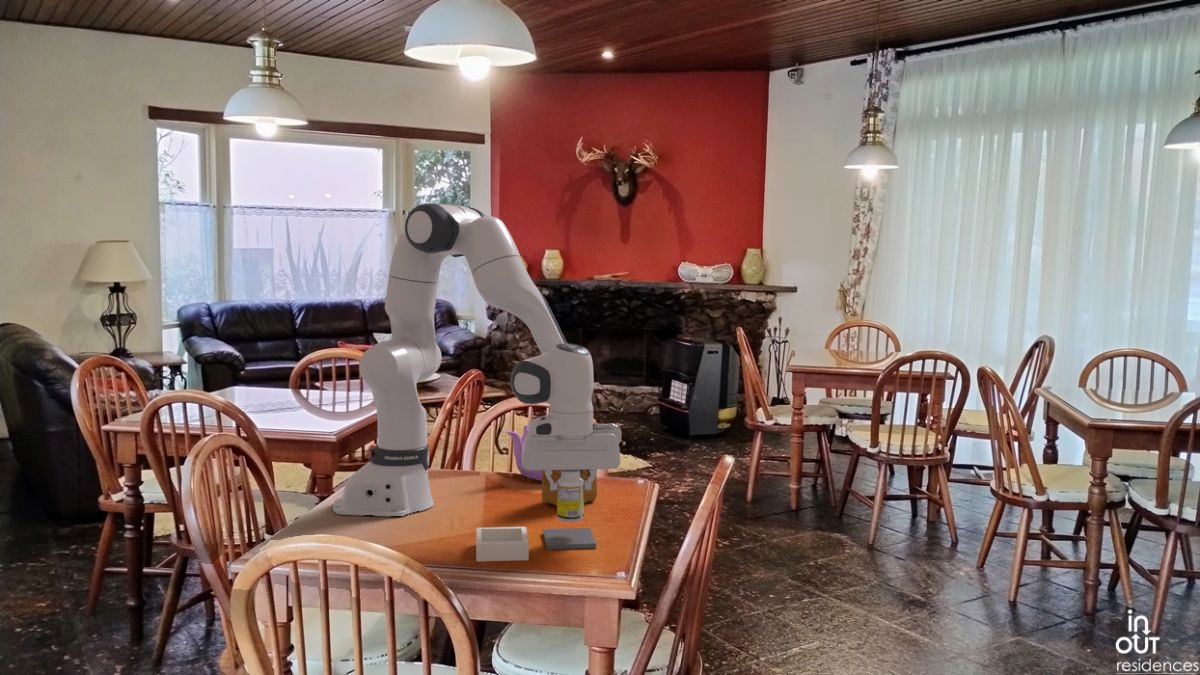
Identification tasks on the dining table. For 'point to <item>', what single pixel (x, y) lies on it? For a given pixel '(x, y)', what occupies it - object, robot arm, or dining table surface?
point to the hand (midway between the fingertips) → (570, 490)
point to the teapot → (518, 455)
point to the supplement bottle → (570, 496)
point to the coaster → (569, 538)
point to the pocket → (502, 544)
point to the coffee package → (551, 496)
